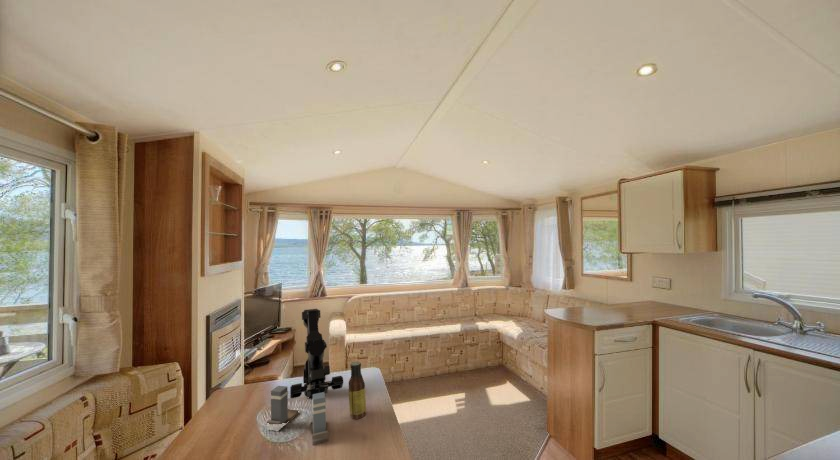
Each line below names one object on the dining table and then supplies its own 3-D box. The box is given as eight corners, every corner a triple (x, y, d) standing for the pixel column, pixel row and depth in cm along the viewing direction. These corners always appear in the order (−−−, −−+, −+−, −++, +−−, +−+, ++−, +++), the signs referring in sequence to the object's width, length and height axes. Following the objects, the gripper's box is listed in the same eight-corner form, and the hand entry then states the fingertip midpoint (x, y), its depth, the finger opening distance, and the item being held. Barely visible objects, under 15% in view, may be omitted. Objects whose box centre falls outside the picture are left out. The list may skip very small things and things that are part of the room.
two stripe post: (312, 428, 108) (312, 394, 108) (324, 425, 109) (324, 391, 110) (313, 435, 104) (312, 400, 104) (326, 432, 105) (325, 397, 106)
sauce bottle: (369, 412, 119) (368, 361, 119) (359, 421, 113) (358, 367, 114) (355, 409, 122) (354, 359, 122) (345, 417, 116) (344, 365, 117)
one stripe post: (278, 417, 115) (278, 385, 115) (288, 418, 114) (288, 386, 114) (270, 424, 110) (270, 391, 111) (280, 425, 110) (280, 392, 110)
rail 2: (310, 425, 111) (310, 417, 112) (324, 421, 113) (324, 413, 114) (312, 445, 100) (312, 435, 101) (328, 440, 102) (328, 431, 103)
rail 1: (287, 411, 121) (287, 404, 121) (298, 412, 120) (298, 405, 120) (266, 430, 109) (266, 421, 109) (279, 431, 108) (278, 423, 108)
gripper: (290, 363, 111) (290, 409, 100) (342, 354, 118) (347, 396, 107) (290, 376, 117) (290, 420, 107) (339, 367, 125) (344, 408, 114)
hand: (318, 411), depth 109 cm, fingers closed, pressing on two stripe post
